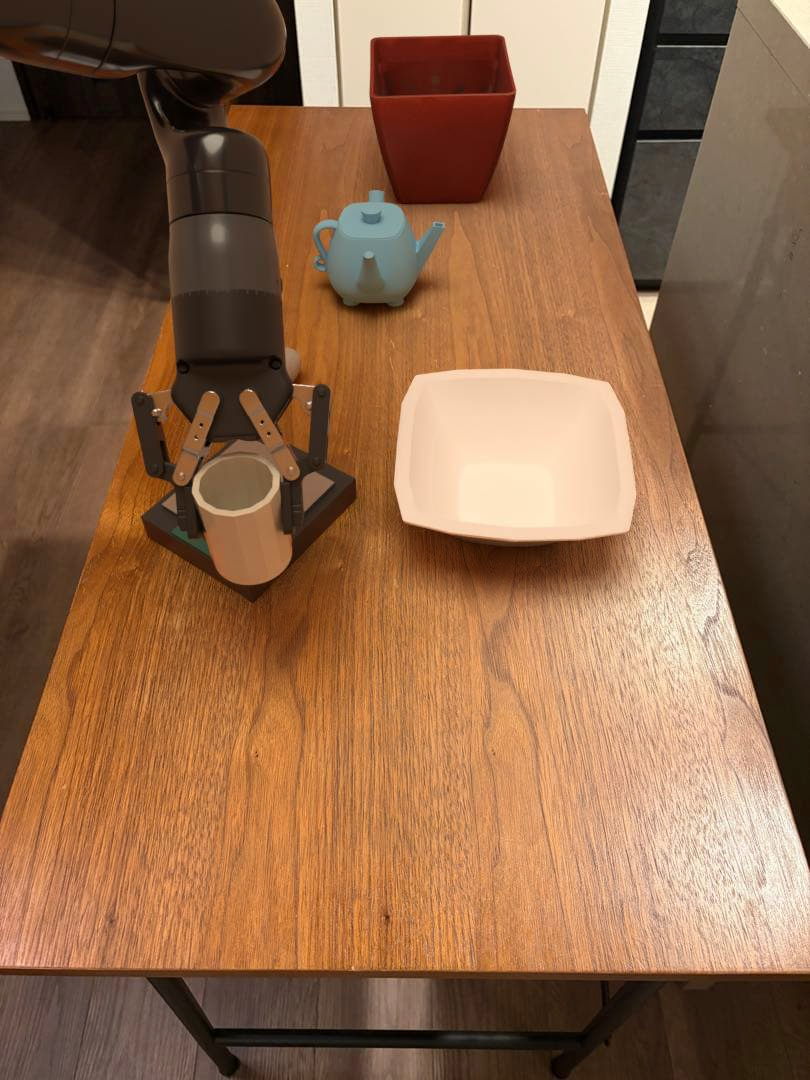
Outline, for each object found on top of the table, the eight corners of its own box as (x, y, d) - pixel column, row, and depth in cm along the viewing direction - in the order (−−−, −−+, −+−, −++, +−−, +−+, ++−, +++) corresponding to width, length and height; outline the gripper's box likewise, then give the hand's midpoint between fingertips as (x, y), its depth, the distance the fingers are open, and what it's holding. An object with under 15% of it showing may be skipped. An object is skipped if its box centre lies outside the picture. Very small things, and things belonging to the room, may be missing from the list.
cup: (256, 598, 62) (239, 529, 56) (196, 560, 64) (173, 489, 58) (309, 546, 65) (297, 475, 59) (249, 511, 67) (233, 439, 61)
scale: (253, 602, 79) (248, 582, 76) (147, 536, 84) (139, 514, 81) (357, 498, 87) (355, 476, 85) (255, 443, 92) (250, 421, 90)
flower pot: (373, 216, 121) (368, 95, 108) (374, 152, 134) (370, 35, 120) (506, 215, 122) (517, 93, 108) (495, 150, 134) (504, 34, 121)
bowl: (604, 431, 93) (619, 371, 87) (625, 602, 79) (645, 545, 72) (405, 423, 94) (404, 363, 88) (389, 590, 80) (388, 533, 73)
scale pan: (254, 564, 78) (253, 560, 77) (162, 508, 82) (160, 504, 82) (335, 486, 84) (335, 482, 84) (245, 437, 88) (244, 433, 88)
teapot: (454, 294, 109) (457, 212, 101) (371, 336, 104) (367, 254, 95) (380, 244, 117) (377, 164, 108) (299, 282, 111) (289, 201, 103)
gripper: (104, 289, 54) (126, 547, 56) (328, 279, 55) (342, 536, 57) (137, 308, 62) (155, 535, 64) (333, 300, 62) (345, 526, 64)
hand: (243, 535), depth 60 cm, fingers closed on cup, 6 cm apart
